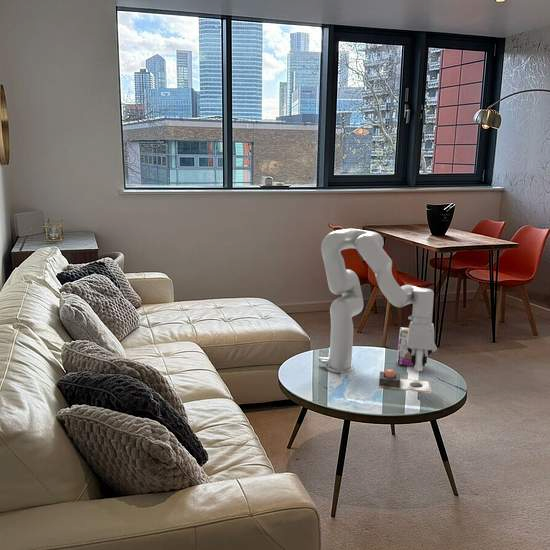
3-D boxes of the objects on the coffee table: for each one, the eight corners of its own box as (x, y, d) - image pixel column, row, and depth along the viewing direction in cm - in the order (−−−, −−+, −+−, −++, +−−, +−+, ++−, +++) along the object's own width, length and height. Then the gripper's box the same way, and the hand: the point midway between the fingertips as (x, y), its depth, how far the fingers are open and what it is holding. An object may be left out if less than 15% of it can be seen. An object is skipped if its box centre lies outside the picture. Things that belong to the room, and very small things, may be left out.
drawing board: (378, 389, 229) (379, 380, 228) (379, 378, 241) (380, 369, 240) (431, 395, 225) (432, 385, 224) (429, 383, 237) (429, 374, 236)
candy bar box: (397, 365, 257) (400, 330, 254) (396, 361, 262) (399, 326, 258) (423, 367, 256) (426, 331, 253) (421, 363, 261) (424, 328, 258)
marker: (414, 370, 229) (416, 344, 227) (413, 367, 232) (415, 341, 230) (422, 371, 228) (424, 344, 226) (422, 368, 232) (424, 342, 230)
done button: (384, 380, 232) (385, 372, 231) (384, 376, 236) (385, 368, 235) (394, 381, 231) (395, 373, 230) (394, 377, 235) (395, 369, 234)
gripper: (400, 320, 224) (397, 366, 228) (444, 324, 221) (440, 369, 225) (400, 316, 232) (397, 359, 235) (442, 319, 229) (439, 363, 232)
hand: (418, 364), depth 230 cm, fingers closed on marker, 3 cm apart
